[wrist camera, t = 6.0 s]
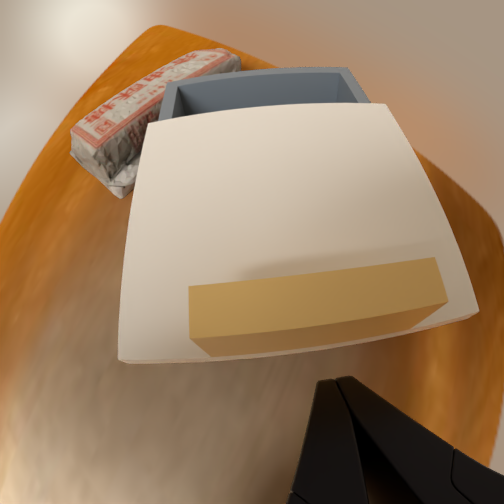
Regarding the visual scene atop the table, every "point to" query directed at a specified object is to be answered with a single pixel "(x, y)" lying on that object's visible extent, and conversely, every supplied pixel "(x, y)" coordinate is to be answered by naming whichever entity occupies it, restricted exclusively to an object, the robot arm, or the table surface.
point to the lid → (283, 237)
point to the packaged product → (136, 119)
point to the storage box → (260, 90)
